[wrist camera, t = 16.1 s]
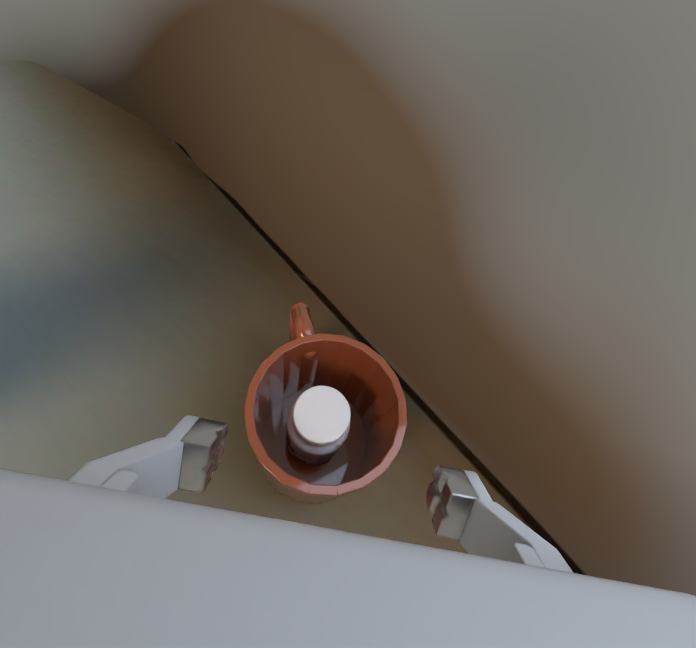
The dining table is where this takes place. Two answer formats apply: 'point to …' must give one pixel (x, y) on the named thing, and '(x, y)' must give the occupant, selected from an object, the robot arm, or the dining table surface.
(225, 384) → the dining table surface
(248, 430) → the reddish brown mug
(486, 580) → the robot arm
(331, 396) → the pill bottle
